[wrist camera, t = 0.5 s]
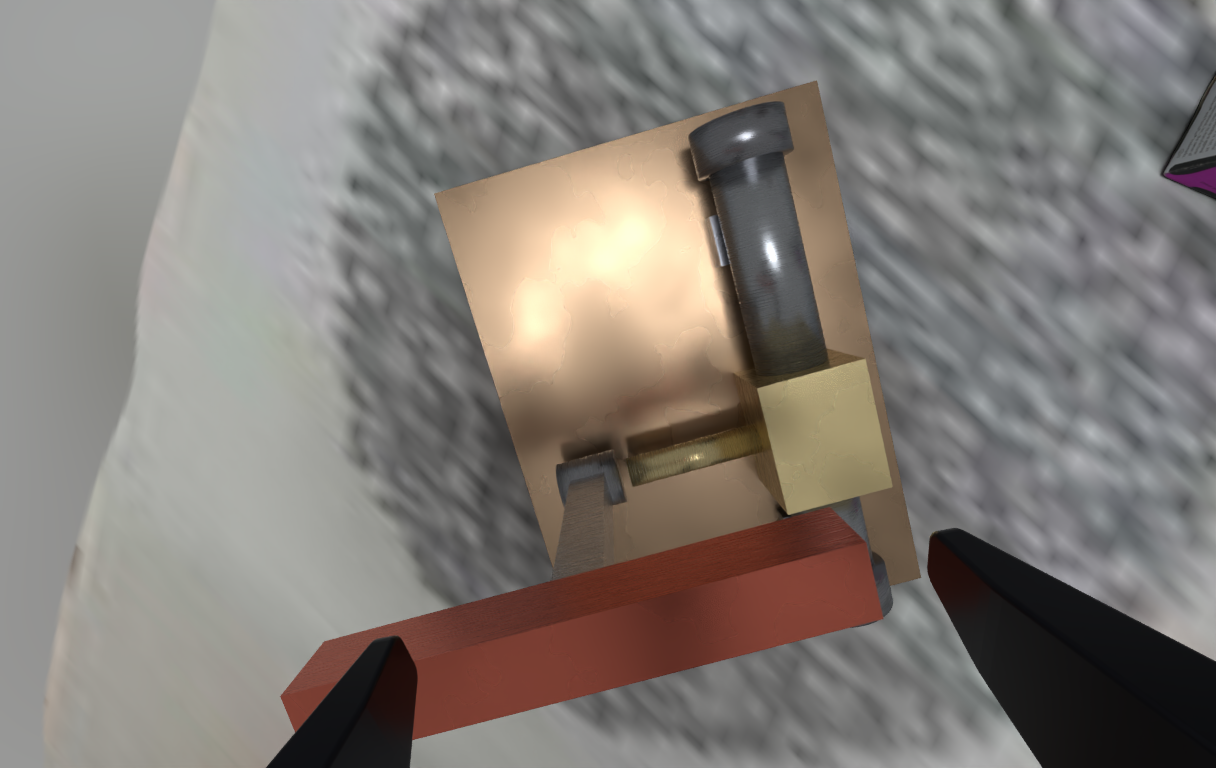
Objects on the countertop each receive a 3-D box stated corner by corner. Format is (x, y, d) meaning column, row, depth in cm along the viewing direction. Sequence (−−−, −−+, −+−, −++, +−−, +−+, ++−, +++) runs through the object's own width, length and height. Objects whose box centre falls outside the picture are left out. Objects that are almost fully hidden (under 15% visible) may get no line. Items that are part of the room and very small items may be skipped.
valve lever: (745, 458, 25) (885, 627, 12) (455, 537, 25) (312, 774, 13) (733, 409, 25) (864, 533, 12) (440, 490, 25) (276, 688, 13)
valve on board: (907, 565, 28) (976, 627, 23) (584, 649, 28) (580, 729, 23) (806, 90, 24) (860, 37, 19) (442, 198, 25) (400, 174, 20)
